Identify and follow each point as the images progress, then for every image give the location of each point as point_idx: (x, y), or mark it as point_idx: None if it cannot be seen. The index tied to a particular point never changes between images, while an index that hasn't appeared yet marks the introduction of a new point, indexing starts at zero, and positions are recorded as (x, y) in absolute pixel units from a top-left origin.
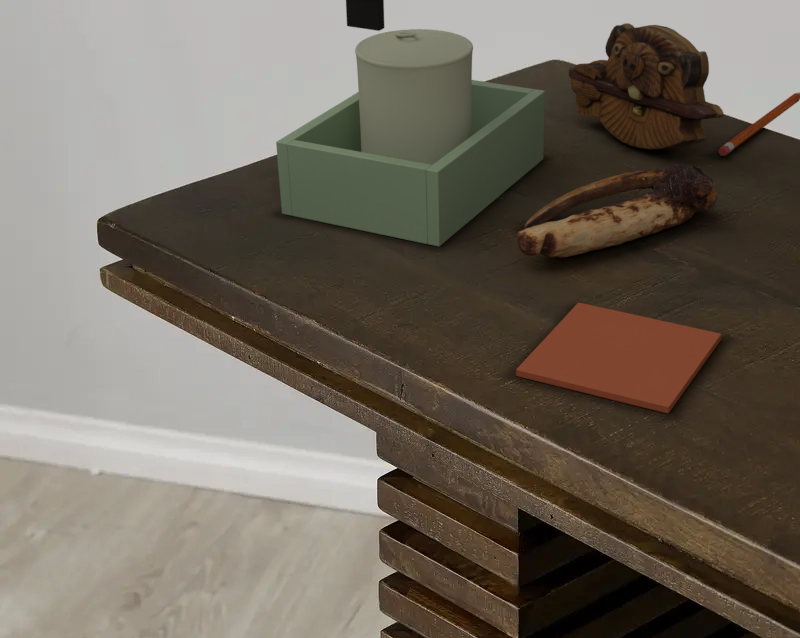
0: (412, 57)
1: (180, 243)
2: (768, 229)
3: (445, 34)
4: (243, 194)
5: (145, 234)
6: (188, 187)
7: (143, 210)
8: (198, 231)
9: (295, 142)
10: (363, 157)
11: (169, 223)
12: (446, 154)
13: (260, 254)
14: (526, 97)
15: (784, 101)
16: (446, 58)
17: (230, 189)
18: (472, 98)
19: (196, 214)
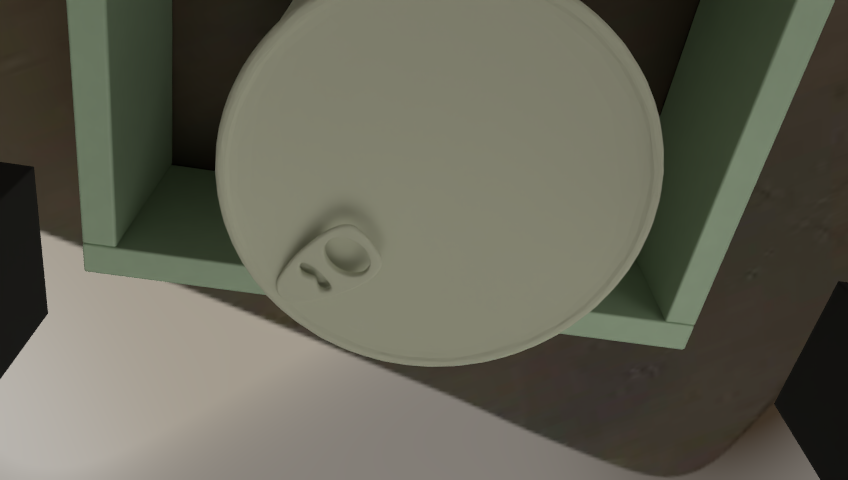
0: (554, 162)
1: (780, 358)
2: None
3: (247, 132)
4: (555, 347)
5: (747, 416)
6: (543, 434)
7: (651, 454)
8: (728, 352)
9: (685, 312)
10: (778, 130)
11: (699, 403)
12: None
13: (824, 222)
14: None
15: None
16: (547, 33)
17: (537, 374)
18: (122, 7)
19: (656, 381)
